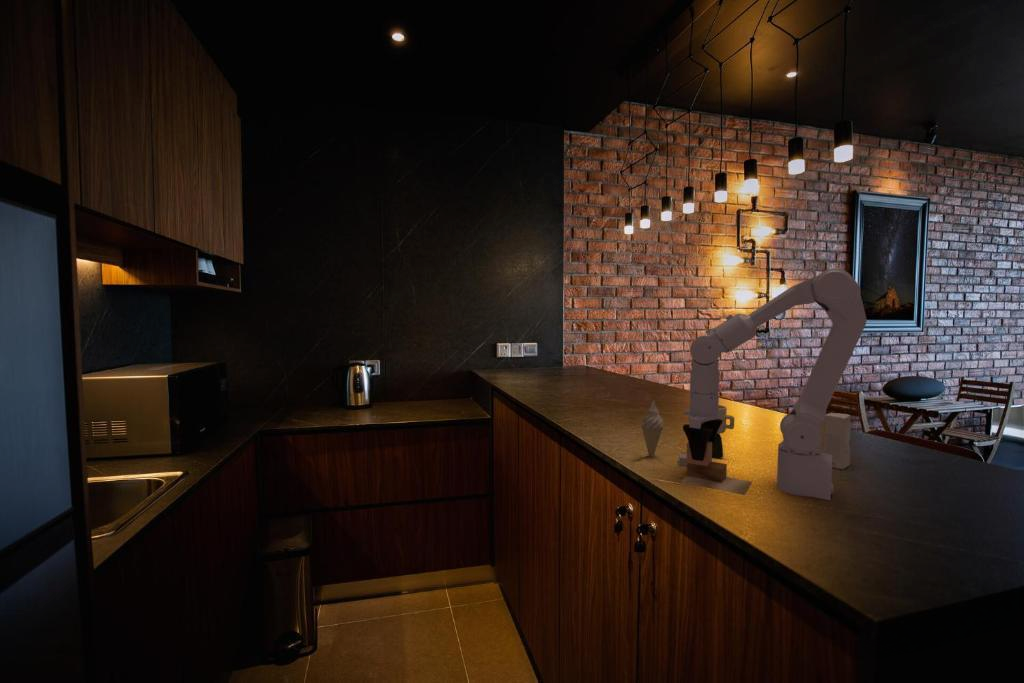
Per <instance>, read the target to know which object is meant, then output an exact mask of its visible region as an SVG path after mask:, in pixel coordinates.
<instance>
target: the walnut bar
mask: <svg viewBox="0 0 1024 683" xmlns="http://www.w3.org/2000/svg"><path fill="white" fill-rule="evenodd" d="M727 466H728V464H727V463H724V462H718V461H717V462H716V461H712V462H711V463H710V464H709V465H708V466H702V465H696V464H691V463H687V467H686V476H689V477H695V478H700V479H705V480H710V481H716V482H721V483H722V482H723V481H724V479H725V478H726V477H727V473H728V472H727Z"/></svg>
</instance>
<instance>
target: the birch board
mask: <svg viewBox="0 0 1024 683" xmlns="http://www.w3.org/2000/svg"><path fill="white" fill-rule="evenodd" d="M680 482H681V483H683V484H689V485H692V486H698V487H702V488H708V489H713V490H716V491H717V490H718V491H724V492H728V493H734V494H737V495H738V494H739V495H744V496H745V495H746V493H747V492H748V490H749V489H750V487H751V485H752V483H753V481H749V480H745V479H739V478H736V477H735V478H734V477H728V476H726V478H725V479H724V481H723V482H722V483H721V482H716V481H710V480H705V479H700V478H695V477H689V476H687V475H686V476H685V477H684V478H683V479H682V480H681V481H680Z"/></svg>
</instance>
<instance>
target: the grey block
mask: <svg viewBox="0 0 1024 683" xmlns="http://www.w3.org/2000/svg"><path fill="white" fill-rule="evenodd" d="M686 458H687V453H678V464H679V467H686V468H687V463H686Z"/></svg>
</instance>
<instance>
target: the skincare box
mask: <svg viewBox="0 0 1024 683" xmlns="http://www.w3.org/2000/svg"><path fill="white" fill-rule="evenodd" d="M851 418H852V417H851V415H850V414H846V413H838V412H830V413H826V414H825V419H824V423H823V426H824V427H823V430H824V431H823V453H825V454H830V455H833V458H832V469H833V468H835V469H838V470H844V469H846V468H848V467H849V466H850V465H851V464H850V463H851Z"/></svg>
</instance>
